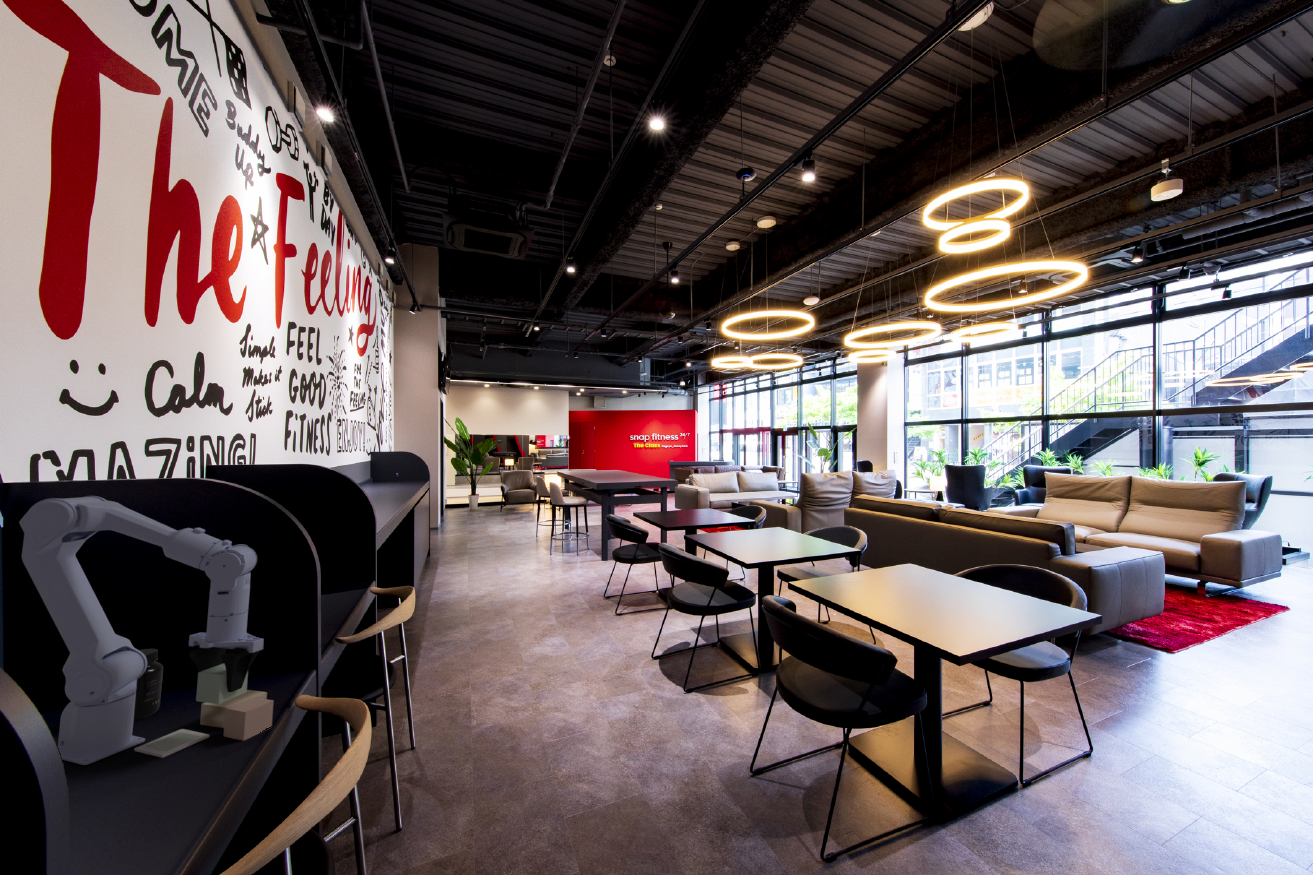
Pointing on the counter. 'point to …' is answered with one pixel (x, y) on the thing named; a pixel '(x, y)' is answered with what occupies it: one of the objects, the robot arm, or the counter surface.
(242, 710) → the terracotta block
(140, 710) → the supplement bottle
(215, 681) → the sage block
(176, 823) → the counter surface
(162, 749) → the card
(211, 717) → the maple block
